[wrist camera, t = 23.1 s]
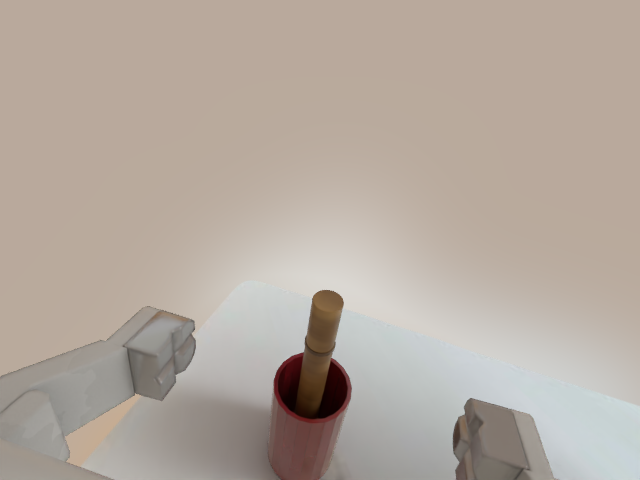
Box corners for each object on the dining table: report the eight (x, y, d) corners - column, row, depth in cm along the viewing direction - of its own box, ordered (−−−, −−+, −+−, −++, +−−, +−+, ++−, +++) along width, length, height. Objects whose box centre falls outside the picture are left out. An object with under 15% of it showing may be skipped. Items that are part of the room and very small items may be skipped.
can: (302, 405, 41) (314, 340, 34) (344, 452, 37) (367, 389, 30) (254, 445, 36) (257, 379, 30) (297, 502, 33) (310, 441, 26)
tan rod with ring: (300, 430, 38) (328, 284, 26) (315, 448, 36) (351, 302, 25) (283, 445, 36) (304, 297, 24) (298, 464, 35) (328, 318, 23)
